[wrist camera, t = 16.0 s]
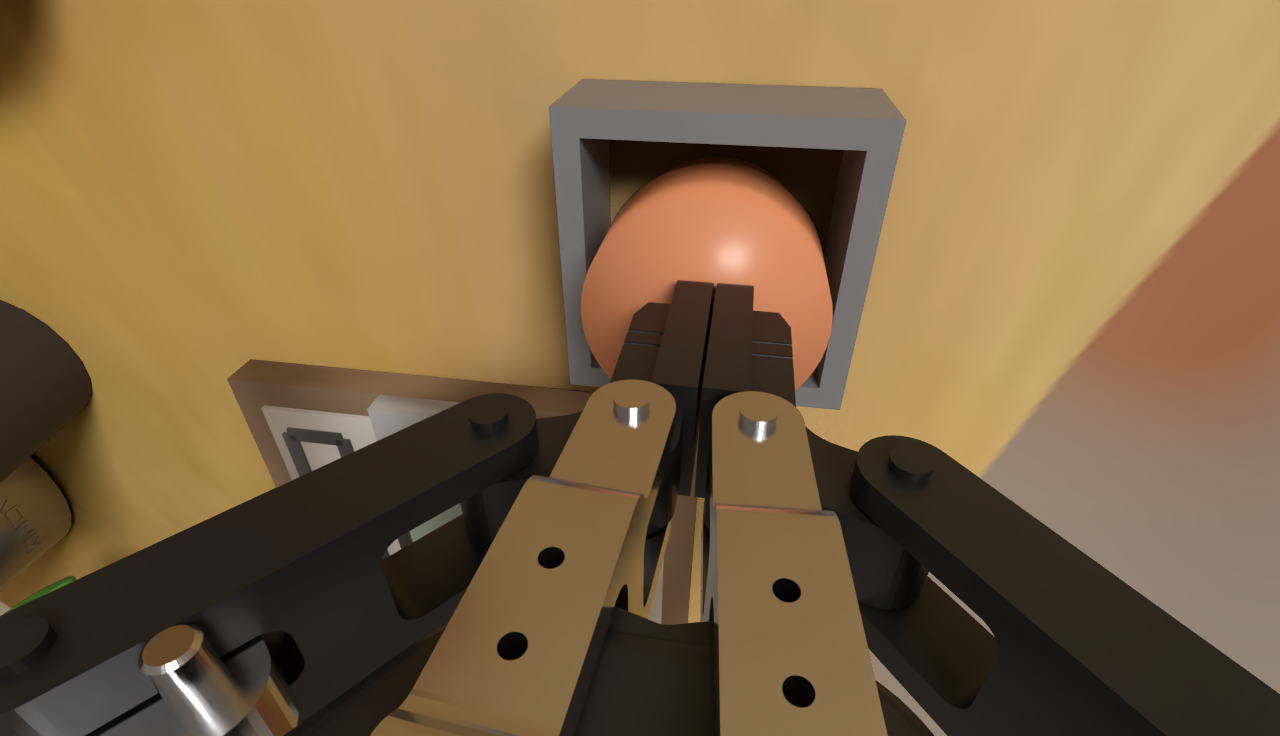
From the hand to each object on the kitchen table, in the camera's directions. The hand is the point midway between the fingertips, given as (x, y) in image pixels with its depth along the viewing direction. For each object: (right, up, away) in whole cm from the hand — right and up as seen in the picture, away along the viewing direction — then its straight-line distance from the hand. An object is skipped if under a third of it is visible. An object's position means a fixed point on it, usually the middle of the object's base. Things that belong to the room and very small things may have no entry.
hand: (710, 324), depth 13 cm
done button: (0, +2, +3) cm, 4 cm away
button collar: (+1, +3, +4) cm, 5 cm away
